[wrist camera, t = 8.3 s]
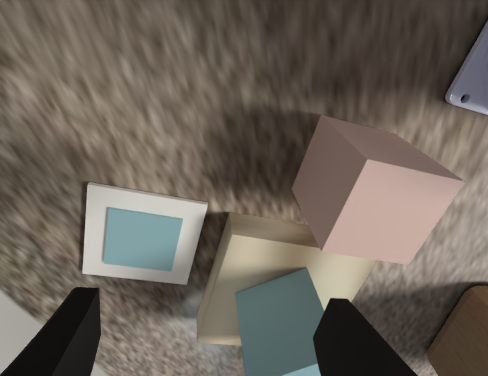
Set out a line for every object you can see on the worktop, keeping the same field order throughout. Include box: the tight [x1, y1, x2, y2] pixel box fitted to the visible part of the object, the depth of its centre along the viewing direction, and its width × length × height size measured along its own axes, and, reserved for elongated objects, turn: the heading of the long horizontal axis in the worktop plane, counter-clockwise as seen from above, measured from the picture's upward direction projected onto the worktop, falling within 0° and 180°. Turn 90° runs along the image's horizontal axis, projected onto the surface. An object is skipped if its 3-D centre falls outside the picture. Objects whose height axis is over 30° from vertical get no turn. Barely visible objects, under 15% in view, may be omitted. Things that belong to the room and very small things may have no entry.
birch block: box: [197, 212, 377, 346], centre depth 24 cm, size 10×10×3 cm
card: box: [83, 182, 208, 285], centre depth 21 cm, size 7×7×1 cm
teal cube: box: [235, 268, 324, 376], centre depth 20 cm, size 5×5×6 cm
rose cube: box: [292, 115, 465, 265], centre depth 17 cm, size 5×5×6 cm
